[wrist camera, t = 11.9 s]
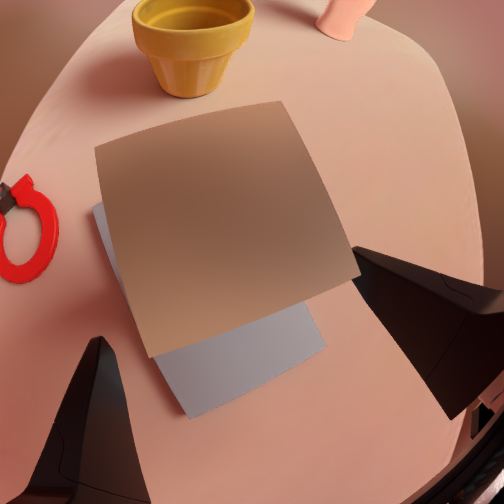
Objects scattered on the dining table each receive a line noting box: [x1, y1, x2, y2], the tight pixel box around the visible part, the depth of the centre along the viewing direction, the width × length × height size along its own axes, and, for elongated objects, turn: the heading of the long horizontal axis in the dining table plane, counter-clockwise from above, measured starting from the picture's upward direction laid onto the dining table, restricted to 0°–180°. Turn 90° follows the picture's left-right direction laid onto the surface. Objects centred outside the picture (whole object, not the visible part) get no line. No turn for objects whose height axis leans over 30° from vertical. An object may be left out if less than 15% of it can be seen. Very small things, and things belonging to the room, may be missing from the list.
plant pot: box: [132, 0, 255, 98], centre depth 21 cm, size 10×10×10 cm
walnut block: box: [94, 101, 361, 358], centre depth 13 cm, size 5×5×15 cm
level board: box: [92, 202, 327, 419], centre depth 21 cm, size 18×12×1 cm, turn 27°
